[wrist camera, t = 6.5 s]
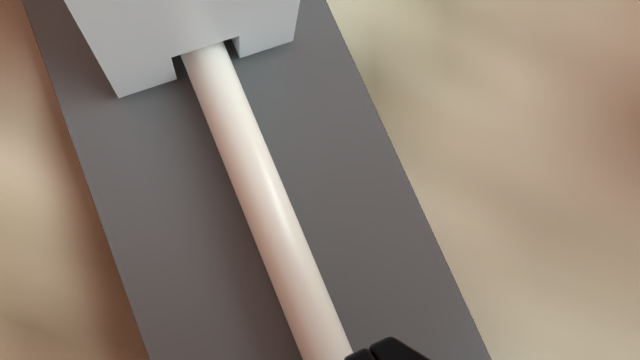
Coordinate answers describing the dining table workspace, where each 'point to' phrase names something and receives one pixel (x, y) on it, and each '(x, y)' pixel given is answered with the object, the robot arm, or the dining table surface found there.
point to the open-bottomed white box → (175, 33)
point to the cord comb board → (256, 201)
